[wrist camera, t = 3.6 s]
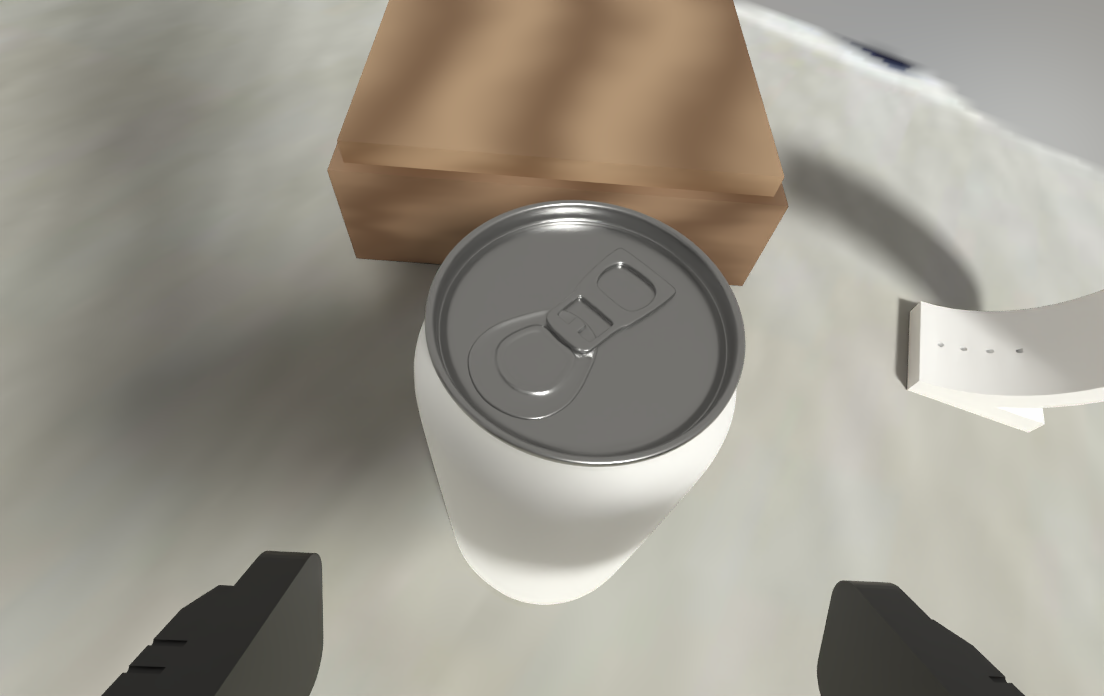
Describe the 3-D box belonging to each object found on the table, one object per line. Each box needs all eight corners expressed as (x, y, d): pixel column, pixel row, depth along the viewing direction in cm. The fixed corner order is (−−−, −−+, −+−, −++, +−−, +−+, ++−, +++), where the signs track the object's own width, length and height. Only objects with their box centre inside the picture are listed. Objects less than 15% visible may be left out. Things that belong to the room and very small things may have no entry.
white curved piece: (909, 311, 26) (1167, 66, 16) (1043, 356, 25) (1405, 127, 15) (906, 390, 24) (1208, 160, 14) (1054, 442, 23) (1494, 239, 13)
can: (414, 504, 19) (320, 296, 9) (545, 394, 22) (582, 142, 12) (541, 654, 17) (596, 595, 7) (669, 512, 20) (840, 324, 10)
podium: (356, 258, 25) (320, 148, 20) (418, 43, 35) (404, -68, 30) (742, 285, 26) (799, 186, 21) (698, 68, 36) (731, -35, 31)
